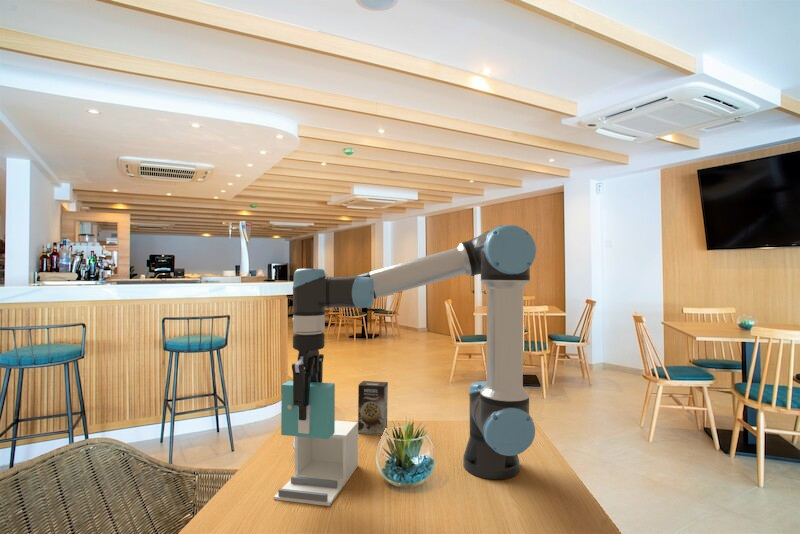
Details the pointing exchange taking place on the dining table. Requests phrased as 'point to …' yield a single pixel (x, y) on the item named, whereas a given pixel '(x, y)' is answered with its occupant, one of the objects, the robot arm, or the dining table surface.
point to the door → (319, 411)
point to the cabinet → (322, 466)
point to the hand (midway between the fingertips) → (308, 429)
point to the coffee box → (372, 407)
